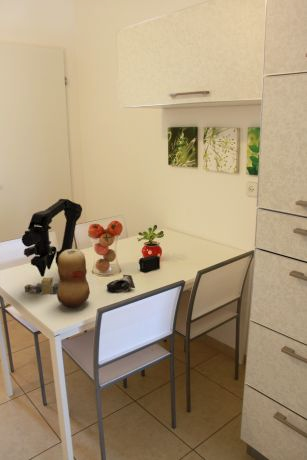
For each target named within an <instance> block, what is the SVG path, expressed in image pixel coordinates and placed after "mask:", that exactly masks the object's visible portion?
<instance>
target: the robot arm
mask: <svg viewBox="0 0 307 460" xmlns="http://www.w3.org/2000/svg"><path fill="white" fill-rule="evenodd" d="M63 211H64V212H63ZM61 212H63V215H64V217H65V220H66V221H65V227H64V232H63V238H62V244H61V248H60V249H59V250H57V247H55V245H54V246H52V245H51V244H52V241H50V233H49V230H51V229H52V226H50V224H51V223H52V222H53V218H54V217H56V216H58V214H60V213H61ZM82 213H83V207H82V206H81V204H80V203H77V202H74V201H71V200H69V198H59V199H58V200H57V201H56V202H55V203H54V204H52V205H50V206H49V207H48V208H47V209H44V210H40V211H36V212H34V213H33V214H32V215H31V216H32V217H31V219H30V222H29V224H28V227H27V230H25V231H24V234H23V235H22V237H21V242H22V244H23V245H24V246H25V247H26V248H25V249H24V251H23V255H24V256H26V257H27V258H29V257H31V256H33V255H34V256H33V257H32V258H31V259H30V265H32V266H35V267H36V268H37V270H38V272H39V275H40V277H42V278H45V273H46V271H47V269H48V270H51V267H52V265H53V261H54V259H55V264H56V267H57V268H58V258H59V255H60V254H61V253H62V252H63V251H65V250H68V249H73V243H74V237H75V231H76V226H77V222H78V221H79V220H80V218H81V217H82Z"/></svg>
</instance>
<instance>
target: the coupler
mask: <svg viewBox="0 0 307 460" xmlns="http://www.w3.org/2000/svg"><path fill="white" fill-rule="evenodd" d="M40 283H41V286H42V292H41V294H42V295H51V294H53V290H52V286H53V285H54V283H53V277H42V279H41V281H40Z"/></svg>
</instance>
